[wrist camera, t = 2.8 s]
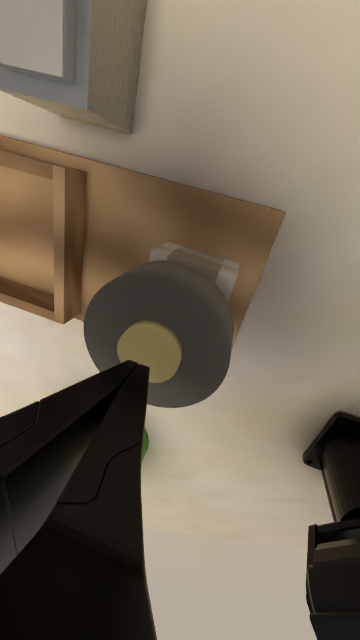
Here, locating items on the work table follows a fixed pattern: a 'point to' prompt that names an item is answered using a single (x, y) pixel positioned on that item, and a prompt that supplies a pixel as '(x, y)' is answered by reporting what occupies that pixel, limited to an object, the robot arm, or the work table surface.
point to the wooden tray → (116, 231)
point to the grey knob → (163, 330)
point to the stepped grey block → (74, 57)
